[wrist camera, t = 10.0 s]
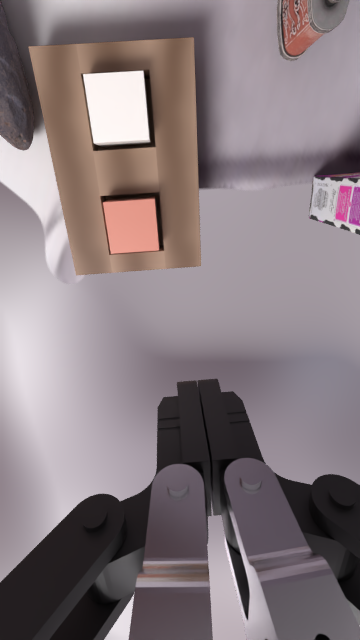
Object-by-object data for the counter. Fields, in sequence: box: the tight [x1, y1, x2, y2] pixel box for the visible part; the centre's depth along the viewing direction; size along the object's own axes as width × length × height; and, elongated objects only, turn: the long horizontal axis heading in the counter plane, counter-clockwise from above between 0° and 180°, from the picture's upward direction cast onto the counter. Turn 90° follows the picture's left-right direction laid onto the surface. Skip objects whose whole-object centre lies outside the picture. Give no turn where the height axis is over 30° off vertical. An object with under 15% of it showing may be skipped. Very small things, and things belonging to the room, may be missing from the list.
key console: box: [29, 37, 201, 275], centre depth 33 cm, size 14×20×4 cm
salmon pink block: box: [103, 196, 159, 254], centre depth 33 cm, size 5×5×4 cm
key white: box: [83, 71, 151, 147], centre depth 29 cm, size 5×5×4 cm
